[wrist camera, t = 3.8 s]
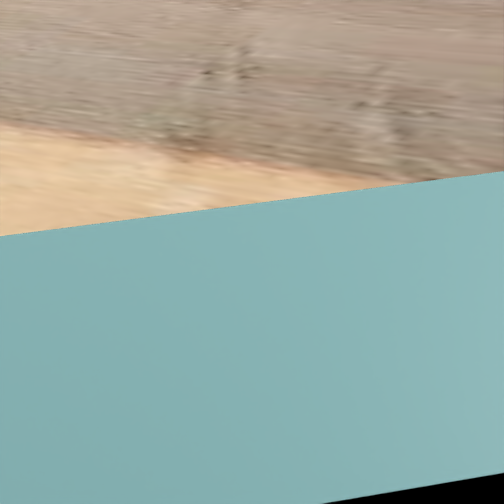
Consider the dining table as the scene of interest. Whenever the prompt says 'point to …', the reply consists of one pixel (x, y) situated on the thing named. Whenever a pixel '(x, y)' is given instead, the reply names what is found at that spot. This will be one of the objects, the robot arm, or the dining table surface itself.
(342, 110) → the dining table surface
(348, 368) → the teal rectangular block
